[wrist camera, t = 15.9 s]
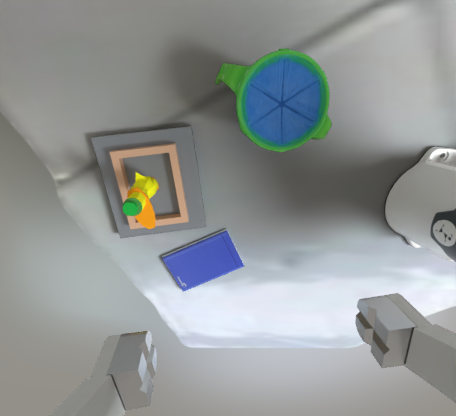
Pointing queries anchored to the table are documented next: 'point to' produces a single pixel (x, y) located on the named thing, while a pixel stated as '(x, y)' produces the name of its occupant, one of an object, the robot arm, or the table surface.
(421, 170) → the robot arm
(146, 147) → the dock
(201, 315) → the table surface
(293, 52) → the snack cup
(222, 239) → the hard drive
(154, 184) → the toy figure
